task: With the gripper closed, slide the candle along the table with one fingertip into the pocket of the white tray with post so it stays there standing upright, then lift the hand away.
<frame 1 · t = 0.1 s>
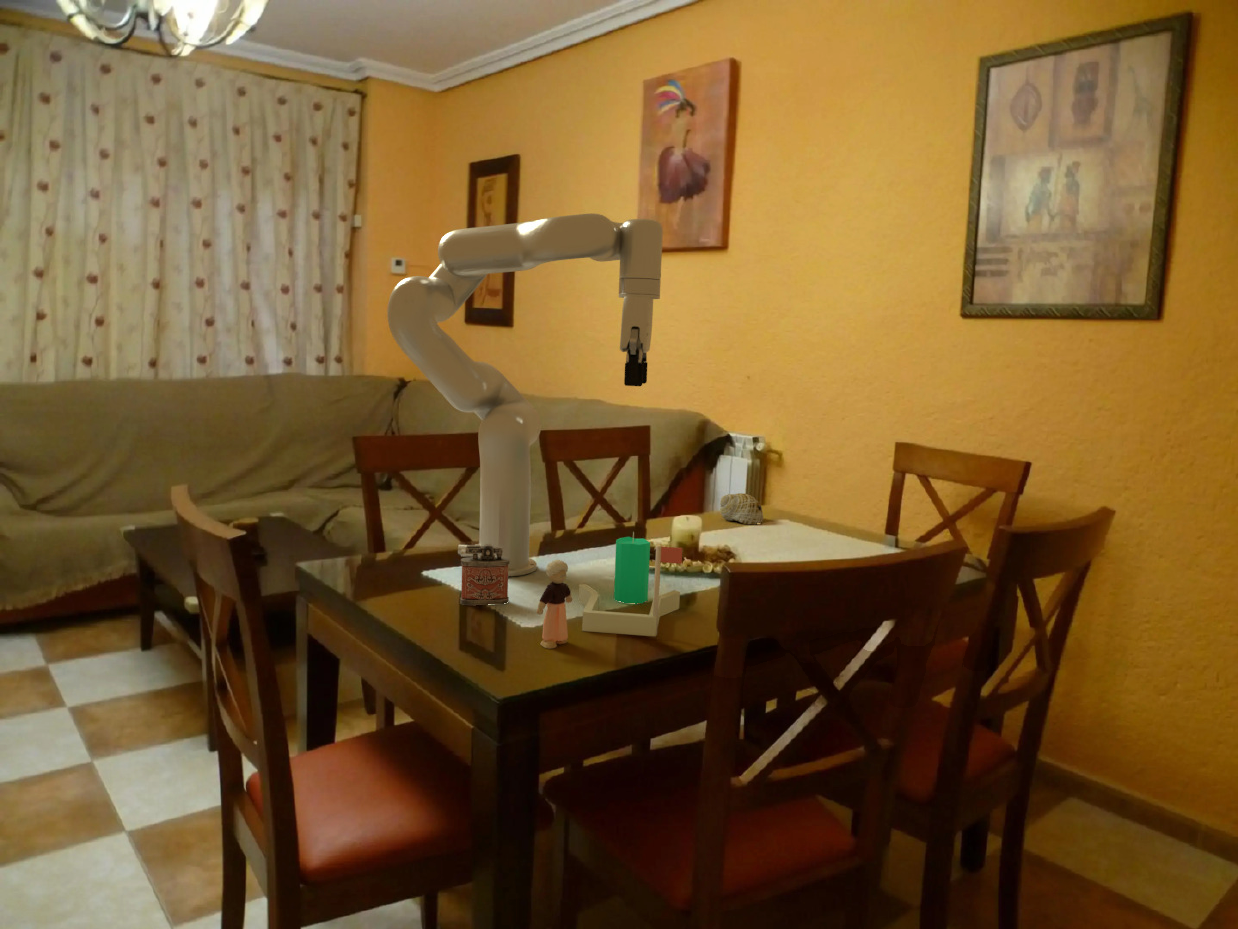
hand: (635, 384, 167), 37 cm above the table, tool pointing down, fingers open, 9 cm apart
seashell: (739, 522, 229), on the table
grandmother figurine: (555, 644, 134), on the table
lighter: (484, 603, 153), on the table
white tray with post: (622, 622, 145), on the table
candle: (630, 600, 158), on the table
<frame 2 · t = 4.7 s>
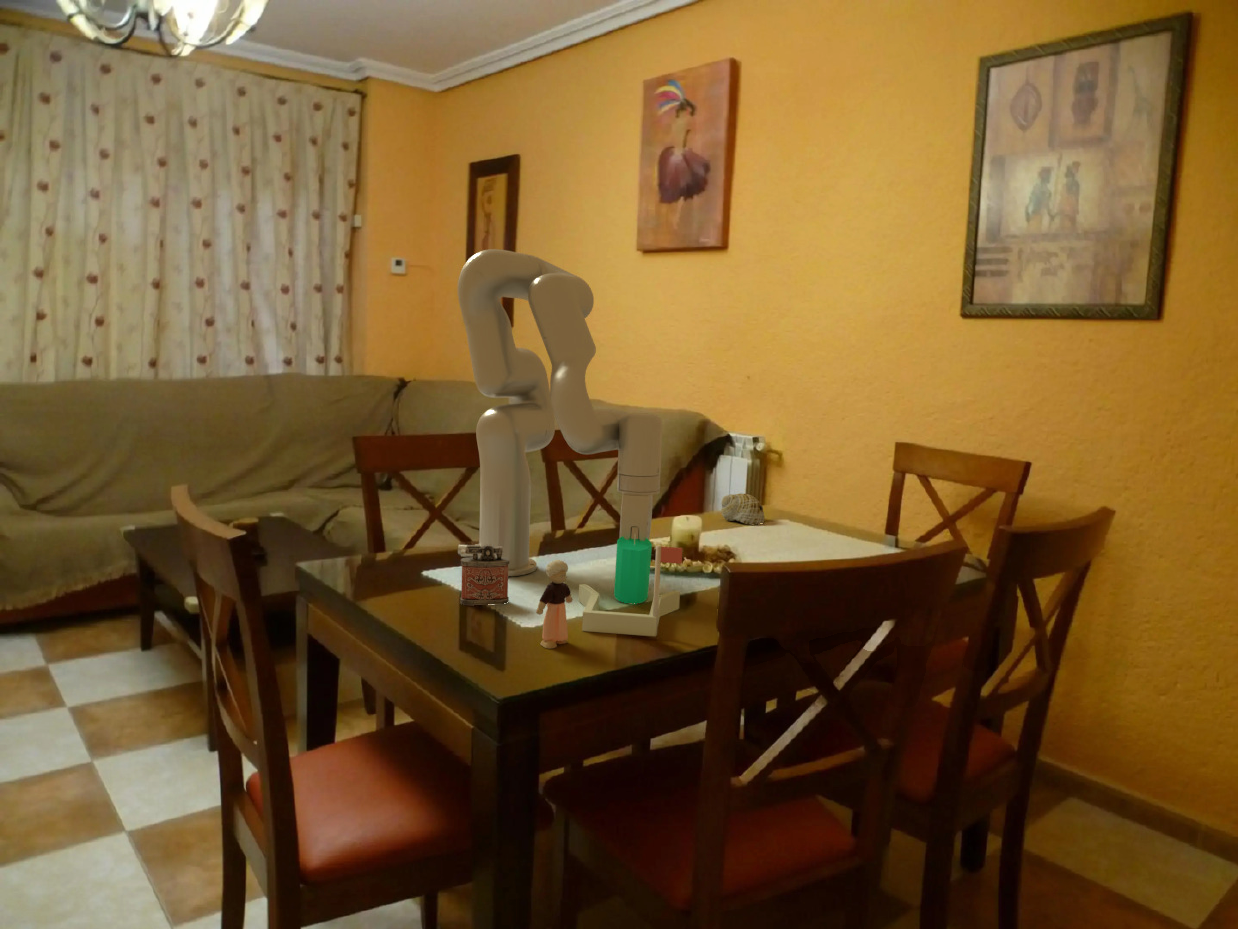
hand: (634, 584, 161), 2 cm above the table, tool pointing down, fingers closed
candle: (630, 596, 158), point 1 cm above the table, touching gripper
everything else where it was.
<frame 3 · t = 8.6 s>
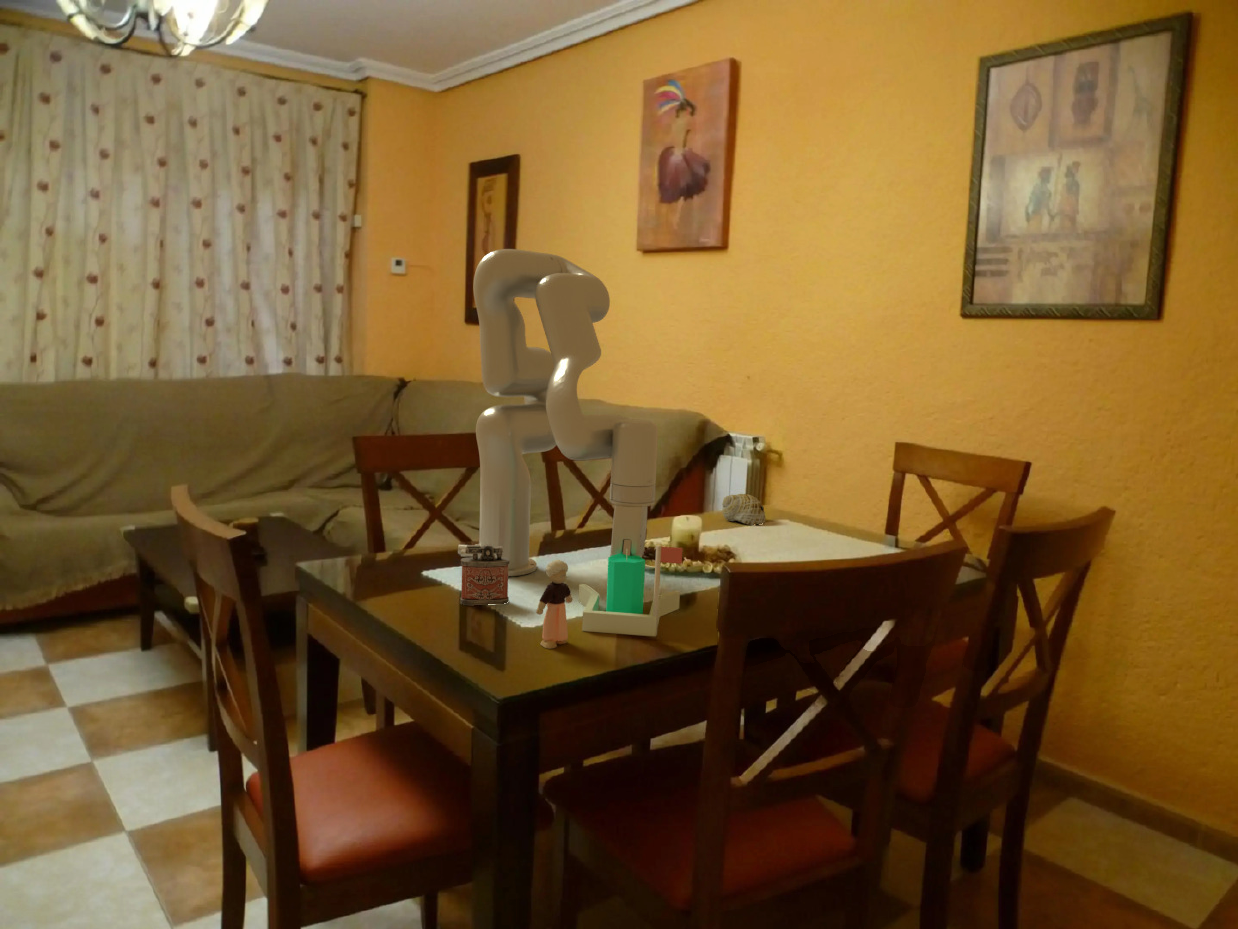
hand: (627, 599, 154), 1 cm above the table, tool pointing down, fingers closed
candle: (624, 622, 146), resting in white tray with post
everything else where it was.
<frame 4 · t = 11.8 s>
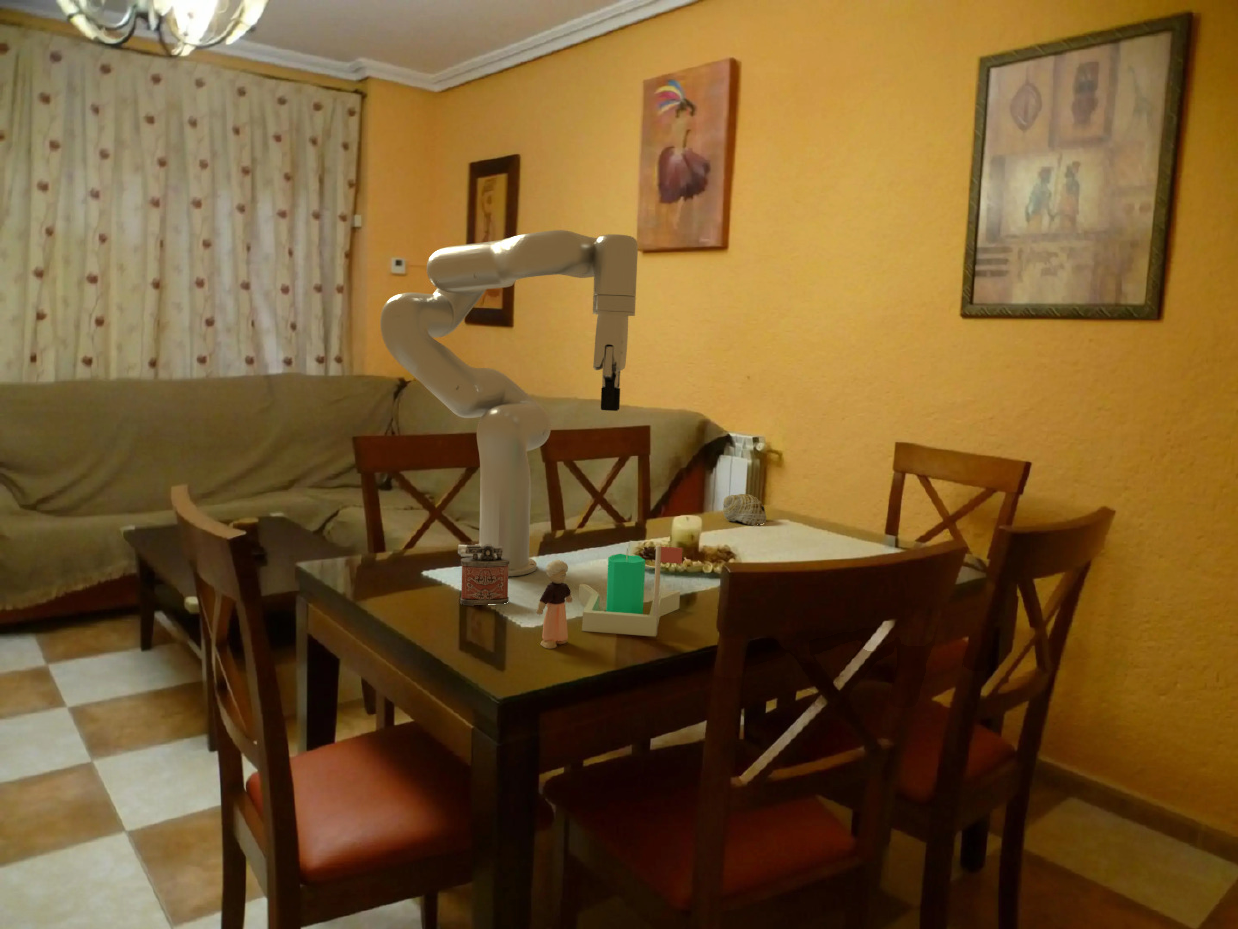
hand: (610, 409, 163), 32 cm above the table, tool pointing down, fingers closed
at the end: candle 0.5 cm off-centre on the white tray with post, point 0.0 cm above the white tray with post's base; candle tilted 0° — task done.
